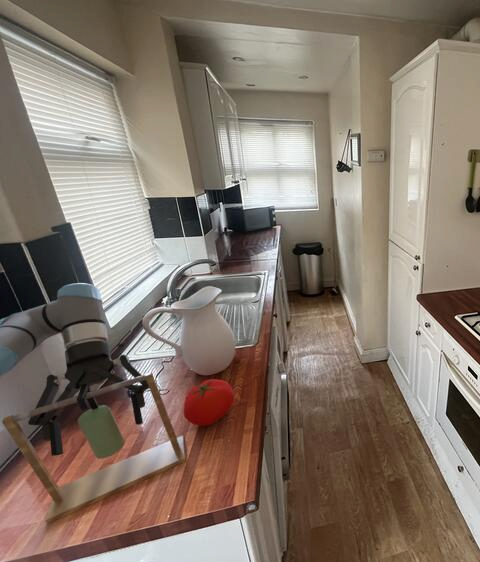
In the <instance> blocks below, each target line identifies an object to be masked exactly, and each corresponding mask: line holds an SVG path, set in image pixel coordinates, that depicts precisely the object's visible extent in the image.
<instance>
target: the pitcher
mask: <svg viewBox="0 0 480 562" xmlns="http://www.w3.org/2000/svg"><path fill="white" fill-rule="evenodd" d="M222 292H223V290H222V289H221V288H218V287H215V286H211V285H207V286H205V287H202V288H201V289H199V290H198V291H196V292H195V293H193V294H191V295H190V296H189V297H187V298H185V299H181V300H178V301H175V302H173V303H172V304H171V305H170V307H167V306H160V307H155V308H153V309H150V310H148V311H147V312H146V313H145V315H144V316H143V318H142V328H143V330H144V332H145V333H146V334H147V335H149V336H150V337H151V338H153V339H155V340H157V341H159V342H162V343H164V344H167V345H169V346H170V347H172V348H173V349H174V350H175V354H174V360H177V359H179V358H180V357H181V358H182V360H183V362H184V364H185V365H186V367H188V369H190V370H191V371H193V373H196V374H198V375H199V376H200V375H201V376H213V375H217V374H219V373H222V372H223V371H224V370H226V369H227V368H228V367H229V366H230V365H231V363H232V362H233V359H234V356H235V353H236V338H235V334H234V332H233V330H232V327H231V326H230V324H229V323H228V322H227V320H226V319H225V318H224V317H223V316H222V314H221V313H220V312H219V311H218V309H217V306H216V302H217V300H218V298H219V296H220V295H221V294H222ZM163 313H165V314H167V313H168V314H172V315H174V316H175V318H176V319H179V320H180V319H181V326H180V331H179V337H178V343H176V342H174V341H172V340H170V339H167V338H166V337H164V336H161V335H160V334H158V333H156V332H155V331H154V329H152V328H151V325H150V324H151V323H150V322H151V319H152V318H153V317H155V316H156V315H158V314H163Z"/></svg>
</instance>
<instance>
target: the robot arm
mask: <svg viewBox="0 0 480 562" xmlns="http://www.w3.org/2000/svg"><path fill="white" fill-rule="evenodd" d="M56 298H57V299H56V300H52V301H50V302H48V303H45V304H42V305H38V306H35V307H33V308H29V309H27V310H23V311H19V312H15V313H12V314H10V315H9V316H7V317H3V318H1V319H0V377H2V376H4V375H5V374H6V373H8V372H10V371H12V370H13V369H14V367H15V366H16V365H18V363H20V362H21V361H22V360H23V359H24V358H25V357H27V356H28V355H29V354H30V353H32V352H33V351H34V350H36V349H37V348H38V347H39V346H40V345H41V344H43V343H44V341H46V340H47V339H49V338H51V337H54V336H57V335H59V334H62V340H63V348H64V349H65V351H64V359H65V366H66V371H65V373H61V374H60V373H59V374H49V375H47V377H46V385H45V388H44V390H43V392H42V394H41V396H40V397H39V400H38V402H37V404H36V406H35V407H34V409H37V408H40V407H43V406H46V405H50V404H53V403H56V402H59V401H62V400H66V399H69V398H72V397H75V396H76V394H77V393H79V392H80V389H81V386H82V385H84V384H87V383H88V385H89V387H90V388H91V387H92V386H94V385H99V384H103V383H104V382H105V381H106V380H107V379H108V380H110V381H111V382H113V383H114V384H116V383H120V382H123V381H126V379H123V378H121V377H120V376H117V375H115V374H114V373H112V371H113V369H114V368H115V366H116V365H117V366H118V367H121V368H124V370H126V372H128V373H129V374H130V376H132V378H135V377H139V376H142V373H141V372H139V371H138V369H136V367H134V366H133V365H132V364H131V360H130V358H129V357H128V356H127V355H126V354H121V355H120V356H119V357H117V358H115V359H112V355H111V349H110V344H109V343H108V341H109V337H108V330H107V326H106V321H105V316H104V308H103V299H102V297H101V292H100V289H99V288H98V287H97V286H96V285H93V284H91V283H87V282H85V283H84V282H78V283H77V282H76V283H75V282H74V283H70V284H66V285H63V286H62V287H61V288H59V289H58V290H57V295H56ZM65 380H68V383H67V384H66V385H65V388H64V390H63V392H61V394H60V395H59V396H58V398H57V399H56V401H55V402H53V401H54V400H55V398H56V395H57V393H58V391H59V389H60V385H62V384H63V382H64V381H65ZM138 383H139V384H140V385H139V386H137V385H135V384H132V385H128V386H125V387H124V388H125V389H127V390H128V391H130V392H133V393H134V394H131V395H130V400H131V401H130V402H131V405H132V412H133V416H134V422H135V425H137V426H140V425H143V424H144V420H143V416H142V411H141V409H143V408H145V407H146V401H145V396H144V393H145V392H146V391H147V390H150V388H149V386H148V383H147V380H144V381H141V382H138ZM67 406H68V405H66V406H63V407H60V408H57V409H54V410H51V411H48V412H45V413H41V414H38V415H35V416H32V417H29V420H28V422H27V424H28V426H41V427H42V437H43V440H44V442H50V444H49V445H50V453H51V456H53V457H54V456H60V455H63V454H64V448H63V447H64V446H63V437H62V429H61V422H60V421H57V419H58V418H59V416H60V415H61V414H62V413H63V411H64V410H65V408H66V407H67Z"/></svg>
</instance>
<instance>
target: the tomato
mask: <svg viewBox="0 0 480 562" xmlns="http://www.w3.org/2000/svg"><path fill="white" fill-rule="evenodd" d="M234 400H235V395H234V390H233V388H232V386H231V385H230V383H229V382H227V381H225V380H221V379H214V378H211V379H207V380H204V381H203V382H202V383H201V384H197V385H195V386H192V388H191V389H190V390H189V391H188V393H187V394H186V396H185V400H184V405H183V417H184V419H185V420H187V421H188V422H189V423H191V424H192V425H193V426H200V427H205V426H211V425H212V424H214V423H216V422H218V421H219V420H220V419H222V418H223V417H224V416H226V414H227V413H228V412H229V411H230V409H231V407H232V405H233V403H234Z"/></svg>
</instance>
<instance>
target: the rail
mask: <svg viewBox="0 0 480 562" xmlns="http://www.w3.org/2000/svg"><path fill="white" fill-rule="evenodd" d="M141 375H142V374H141ZM144 380H147V383H148V386H149V390H150V394H151V395H152V398H153V401H154V404H155V405H156V408H157V411H158V414H159V416H160V418H161V421H162V424H163V426H164V429H165V431H166V434H167V437H168V439H169V440H168V441H165V442H163V443H160V444H159V445H158V444H157V445H156V446H153V447H151V448H149V449H146V450H144V451H141V452H139V453H136V454H134V455H132V456H129V457H127V458H124V459H121V460H120V461H118V462H114V463H113V464H110V465H108V466H105V467H103V468H101V469H97V470H96V471H94V472H91V473H89V474H86V475H84V476H82V477H79V478H77V479H74V480H71V481H70V482H66V483H65V484H62V485H60V486H59V485H58V483H57V482H56V480H55V479H54V477H53V476H52V475H51V473H50V471H49V470H48V468H47V467H46V465H45V464H44V462H43V461H42V458H41V457H40V455H39V454H38V452H37V451H36V449H35V448H34V446H33V445H32V443H31V441H30V439H29V438H28V437H27V435H26V433H25V432H24V430H23V429H22V427H21V425H20V424H19V422H20V421H23V420H26V419H30V418H31V417H32V416H35V415H38V414H41V413H45V412H48V411H51V410H54V409H57V408H60V407H63V406H66V405H67V406H69V405H72V404H76V403H78V402H77V397H78V395H74V396H73V397H72V398H69V399H66V400H62V401H59V402H56V401H55V402H56V403H55V402H52V404H50V405H46V406H43V407H40V408H37V409H35V408H34V409H31V410H28V411H25V412H21V413H17V414H15V415H13V414H11V415H8V416H5V417H3V419H2V421H1V423H2V425H3V426H4V428H5V429H6V431H7V432H8V434H9V435H10V437H11V438H12V440H13V441H14V443H15V444H16V446H17V447H18V449H19V450H20V452H21V453H22V455H23V457H24V458H25V459H26V461H27V462H28V464H29V466H30V467H31V468H32V470H33V472H34V473H35V475H36V476H37V478H38V479H39V480H40V482H41V484H42V485H43V487H44V488H45V490H46V491H47V493H48V494H49V496H50V497H51V501H50V504H49V507H48V510H47V512H46V515H45V519H44V521H45V523H46V524H47V525H48V524H50V523H51V524H52V523H53V522H55V521H57V520H60V519H61V518H64V517H67V516H68V515H71V514H73V513H75V512H78V511H79V510H82V509H84V508H86V507H88V506H90V505H92V504H95V503H97V502H100V501H101V500H103V499H106V498H108V497H110V496H112V495H115V494H117V493H119V492H121V491H123V490H126V489H128V488H130V487H133V486H134V485H136V484H137V485H138V484H139V483H141V482H143V481H145V480H147V479H151V478H152V477H154V476H157V475H159V474H161V473H163V472H165V471H167V470H169V469H172V468H174V467H176V466H178V465H180V464H183V463H185V462H187V455H186V444H185V436H184V435H183V434H182V435H180V436H177V435H176V433H175V430H174V427H173V425H172V422H171V419H170V416H169V414H168V412H167V409H166V406H165V403H164V400H163V398H162V396H161V395H162V394H161V393H160V391H159V388H158V385H157V382H156V380H155V377H154V375H153V372H152V371H149V372H145V373H144V374H143V375H142V376H139V377H135V378H134V377H132V378H129V379H125V381H123V382H120V383H114V384H110V385H107V386H104V387H101V388H98V389H94V390H91V392H88V393H87V394H86V397H85V399H86V400H87V399H88V398H91V397H97V396H101V395H104V394H107V393H110V392H112V391H115V390H120V389H122V388H125V386H128V385H132V384H133V385H135V384H137V383H139V382H141V381H144ZM67 406H66V407H67Z"/></svg>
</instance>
